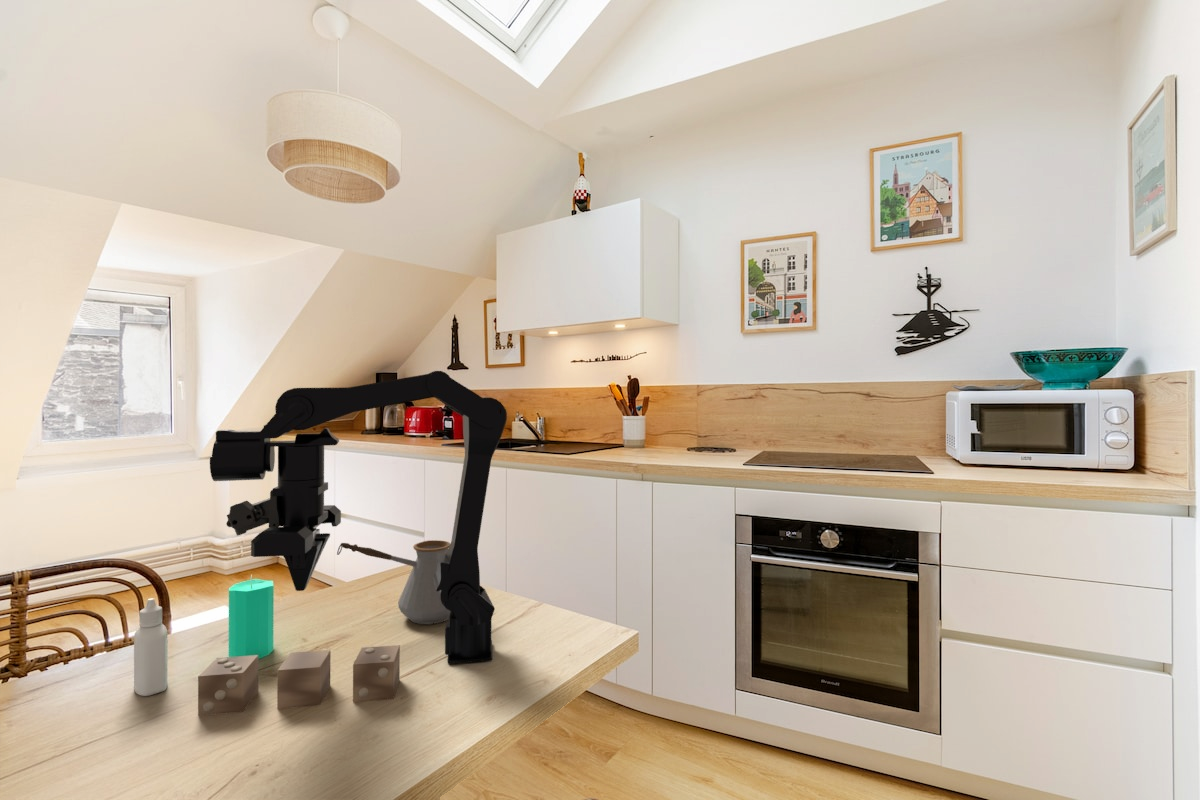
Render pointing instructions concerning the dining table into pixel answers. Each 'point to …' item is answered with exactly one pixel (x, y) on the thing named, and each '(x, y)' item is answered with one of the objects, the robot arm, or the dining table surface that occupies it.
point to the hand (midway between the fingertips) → (300, 590)
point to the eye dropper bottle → (150, 651)
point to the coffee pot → (417, 581)
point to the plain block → (303, 679)
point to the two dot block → (376, 673)
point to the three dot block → (227, 685)
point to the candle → (251, 618)
